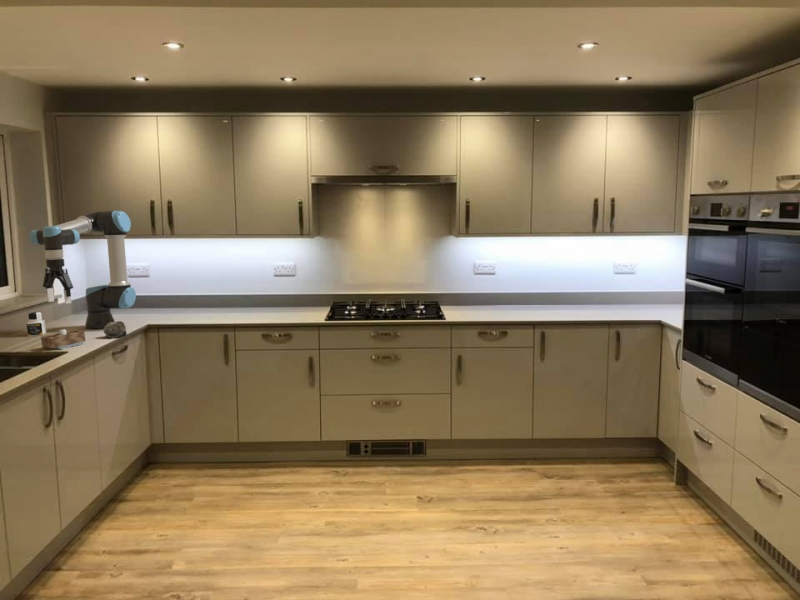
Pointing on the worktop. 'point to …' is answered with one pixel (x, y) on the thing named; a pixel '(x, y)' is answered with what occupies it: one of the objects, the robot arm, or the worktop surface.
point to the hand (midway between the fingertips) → (59, 302)
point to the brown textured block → (63, 339)
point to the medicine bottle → (36, 324)
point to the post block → (63, 332)
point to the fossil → (115, 329)
